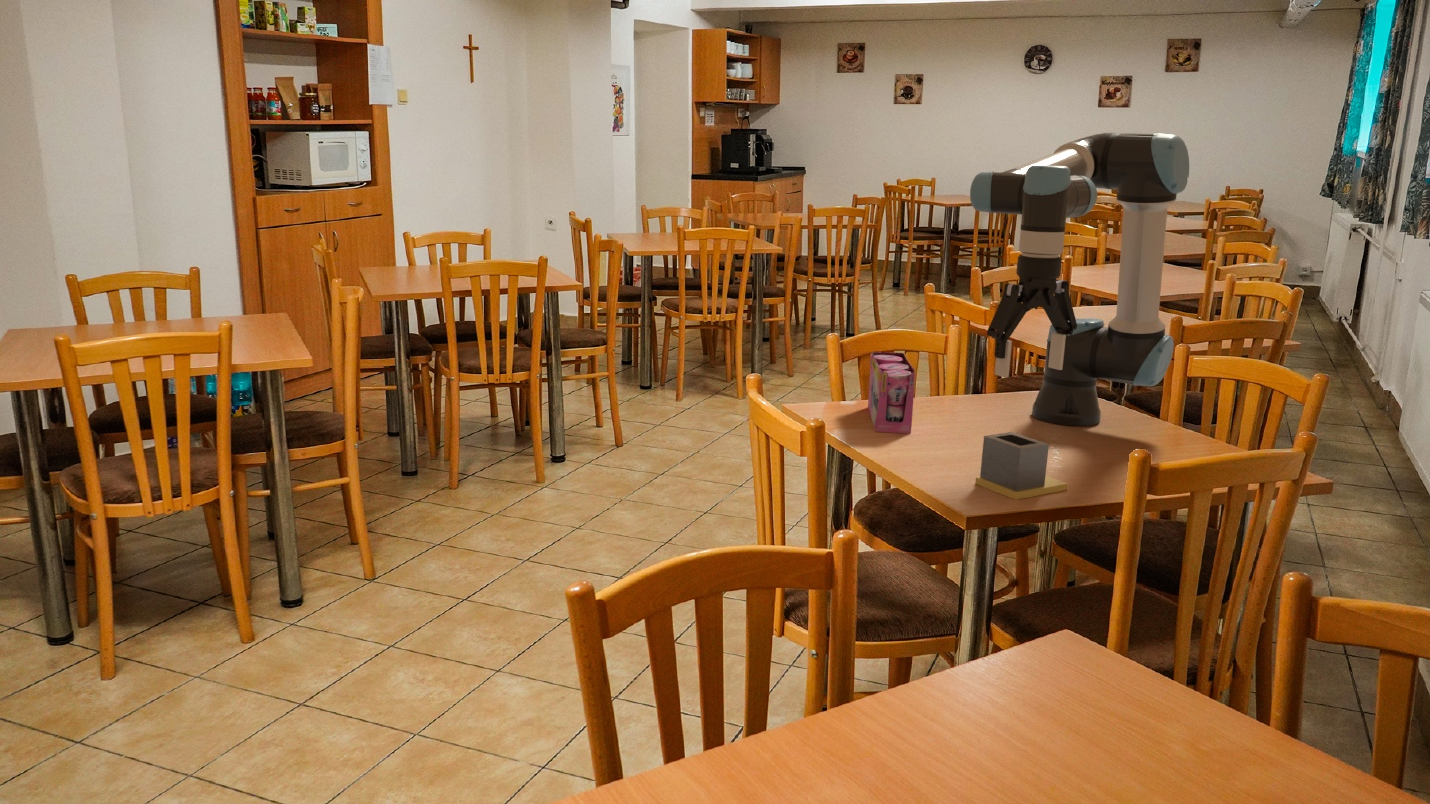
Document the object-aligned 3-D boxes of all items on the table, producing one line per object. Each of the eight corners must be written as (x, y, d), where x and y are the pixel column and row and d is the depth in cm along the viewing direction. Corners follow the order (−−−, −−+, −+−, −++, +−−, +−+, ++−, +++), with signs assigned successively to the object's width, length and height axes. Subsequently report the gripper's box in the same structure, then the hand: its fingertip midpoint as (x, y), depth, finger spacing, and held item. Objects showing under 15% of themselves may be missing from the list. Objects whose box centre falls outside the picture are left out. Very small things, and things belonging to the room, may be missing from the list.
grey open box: (980, 477, 195) (983, 435, 193) (1007, 472, 198) (1011, 431, 196) (1016, 492, 187) (1020, 448, 185) (1044, 486, 190) (1048, 444, 189)
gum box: (912, 435, 226) (917, 374, 223) (875, 434, 227) (880, 372, 224) (900, 408, 250) (904, 352, 246) (866, 407, 250) (870, 351, 247)
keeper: (1025, 474, 201) (1029, 438, 200) (1066, 489, 193) (1071, 452, 191) (975, 483, 195) (978, 446, 193) (1015, 499, 187) (1019, 460, 185)
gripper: (1072, 249, 196) (1060, 361, 201) (972, 255, 183) (963, 374, 189) (1105, 254, 189) (1092, 369, 195) (1004, 260, 177) (993, 383, 182)
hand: (1028, 372), depth 192 cm, fingers open, 13 cm apart
